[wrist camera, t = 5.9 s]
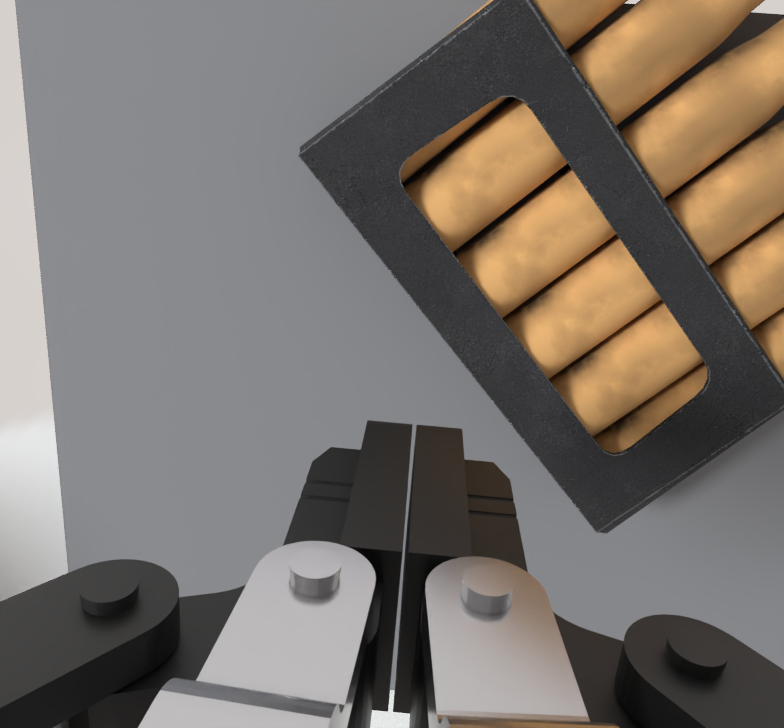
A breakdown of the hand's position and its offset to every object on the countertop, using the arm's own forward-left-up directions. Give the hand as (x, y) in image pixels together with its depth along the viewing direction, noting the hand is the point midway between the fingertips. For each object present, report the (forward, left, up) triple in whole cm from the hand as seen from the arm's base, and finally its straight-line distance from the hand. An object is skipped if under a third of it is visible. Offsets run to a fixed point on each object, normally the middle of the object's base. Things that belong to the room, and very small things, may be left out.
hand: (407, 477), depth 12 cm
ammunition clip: (-1, 0, -5) cm, 5 cm away
